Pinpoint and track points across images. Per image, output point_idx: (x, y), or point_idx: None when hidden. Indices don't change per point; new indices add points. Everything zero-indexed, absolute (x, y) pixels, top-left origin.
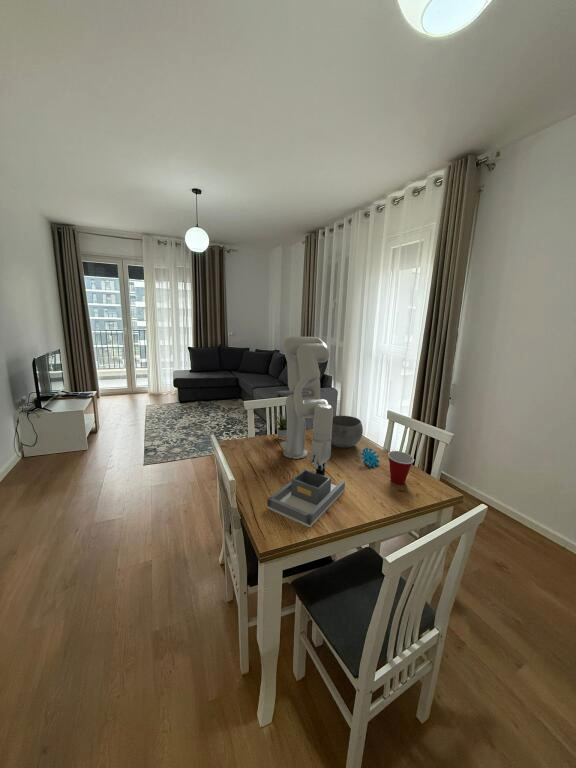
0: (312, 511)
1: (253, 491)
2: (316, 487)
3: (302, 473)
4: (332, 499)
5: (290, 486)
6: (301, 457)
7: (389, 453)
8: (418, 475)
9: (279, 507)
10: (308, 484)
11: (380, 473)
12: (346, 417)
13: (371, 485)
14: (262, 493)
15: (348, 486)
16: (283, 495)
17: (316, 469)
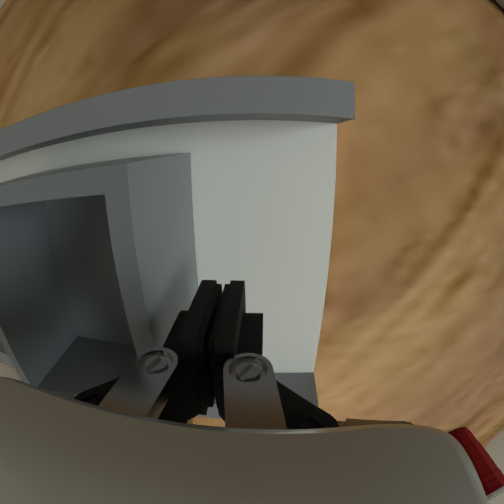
0: (7, 358)
1: (18, 12)
2: (28, 383)
3: (50, 199)
4: None
5: (33, 146)
6: (500, 2)
7: (497, 492)
8: (481, 443)
9: None
10: (3, 335)
11: (491, 394)
12: None
13: (405, 419)
14: (18, 45)
15: (362, 373)
16: (4, 158)
17: (181, 333)
